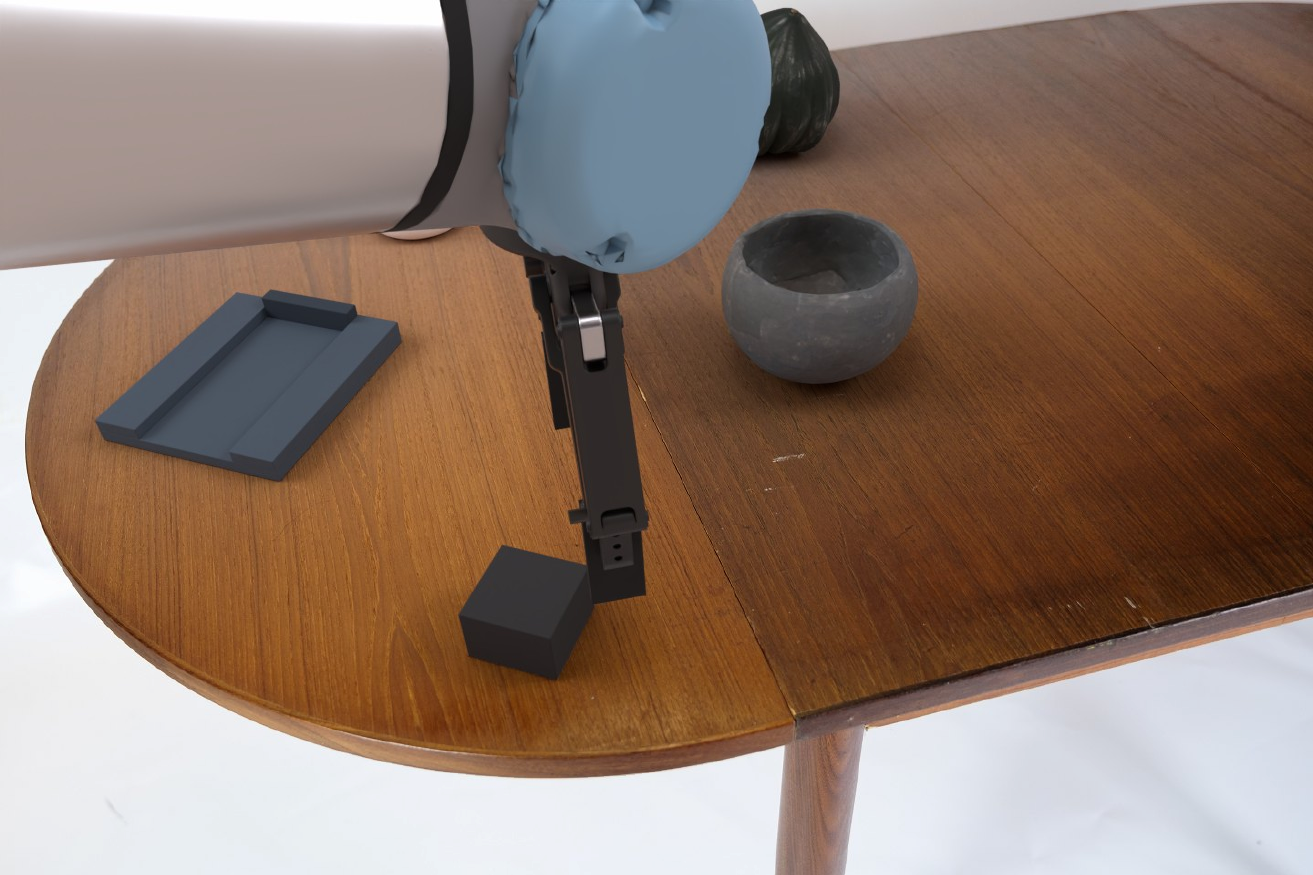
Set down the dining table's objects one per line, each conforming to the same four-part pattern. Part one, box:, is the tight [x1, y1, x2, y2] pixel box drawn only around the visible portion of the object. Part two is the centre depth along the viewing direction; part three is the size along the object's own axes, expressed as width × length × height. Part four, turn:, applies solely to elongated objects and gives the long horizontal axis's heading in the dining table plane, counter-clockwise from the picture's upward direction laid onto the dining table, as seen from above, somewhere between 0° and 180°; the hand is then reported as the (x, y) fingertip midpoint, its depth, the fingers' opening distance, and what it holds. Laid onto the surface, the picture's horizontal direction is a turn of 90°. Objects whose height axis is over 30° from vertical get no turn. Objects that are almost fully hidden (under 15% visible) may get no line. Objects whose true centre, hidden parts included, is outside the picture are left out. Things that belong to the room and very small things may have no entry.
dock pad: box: [94, 288, 403, 483], centre depth 90 cm, size 18×16×3 cm
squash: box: [756, 7, 841, 157], centre depth 115 cm, size 14×15×15 cm
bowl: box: [720, 207, 919, 385], centre depth 87 cm, size 15×15×10 cm
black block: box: [458, 544, 595, 681], centre depth 69 cm, size 6×6×4 cm
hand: (595, 501), depth 61 cm, fingers open, 13 cm apart
